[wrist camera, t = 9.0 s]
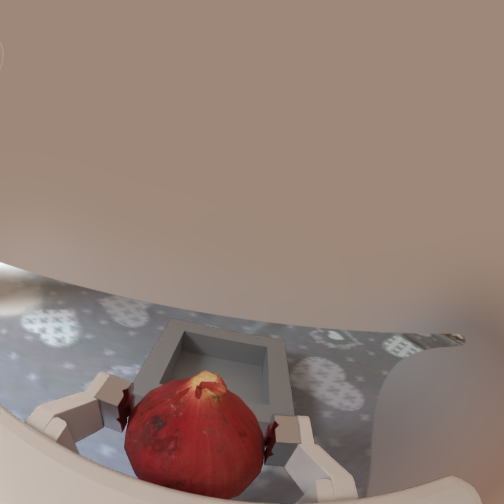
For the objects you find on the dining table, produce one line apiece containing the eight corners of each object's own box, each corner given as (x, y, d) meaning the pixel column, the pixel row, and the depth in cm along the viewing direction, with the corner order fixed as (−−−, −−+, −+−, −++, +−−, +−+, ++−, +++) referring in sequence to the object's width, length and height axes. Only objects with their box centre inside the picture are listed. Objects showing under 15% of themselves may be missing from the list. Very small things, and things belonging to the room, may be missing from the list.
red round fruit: (164, 537, 6) (151, 472, 4) (119, 449, 10) (100, 335, 9) (267, 497, 10) (326, 404, 8) (210, 429, 14) (232, 322, 12)
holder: (283, 448, 18) (296, 424, 18) (131, 418, 18) (127, 391, 17) (276, 363, 31) (283, 340, 30) (170, 342, 31) (171, 318, 30)
